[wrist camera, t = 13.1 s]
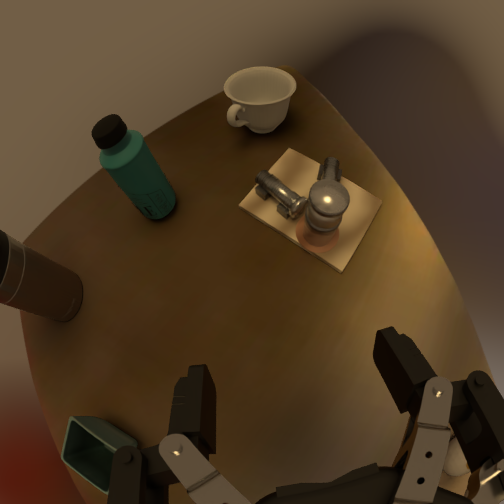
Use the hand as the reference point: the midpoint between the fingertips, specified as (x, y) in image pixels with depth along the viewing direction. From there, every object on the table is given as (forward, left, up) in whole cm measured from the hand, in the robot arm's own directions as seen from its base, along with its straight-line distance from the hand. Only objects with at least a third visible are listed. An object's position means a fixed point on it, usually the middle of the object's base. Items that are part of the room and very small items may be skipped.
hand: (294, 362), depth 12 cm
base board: (-9, +21, -24) cm, 33 cm away
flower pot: (-10, -27, -24) cm, 38 cm away
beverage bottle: (-29, +7, -24) cm, 38 cm away
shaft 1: (-13, +18, -23) cm, 32 cm away
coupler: (-5, +17, -23) cm, 29 cm away
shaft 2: (-8, +24, -23) cm, 34 cm away
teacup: (-26, +30, -24) cm, 46 cm away
